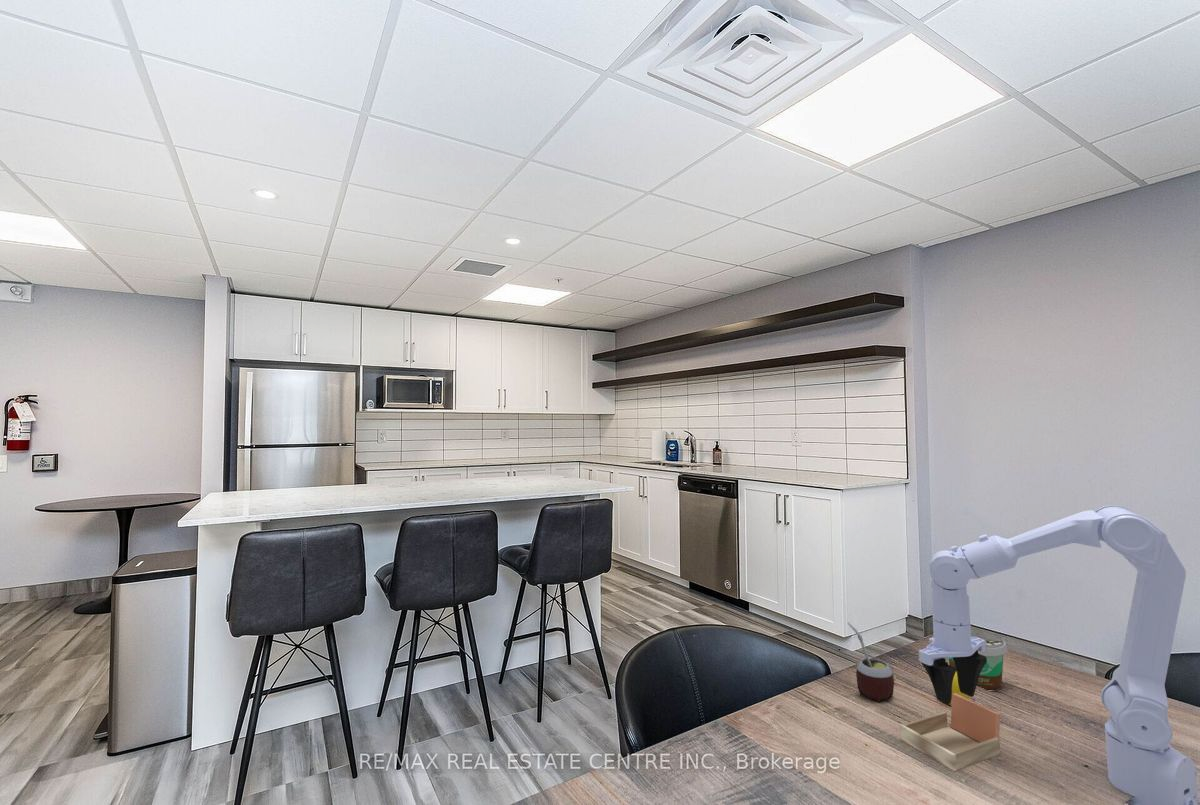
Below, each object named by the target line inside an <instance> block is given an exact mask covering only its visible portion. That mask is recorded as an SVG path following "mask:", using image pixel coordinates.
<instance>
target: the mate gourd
mask: <svg viewBox="0 0 1200 805" xmlns="http://www.w3.org/2000/svg"><path fill="white" fill-rule="evenodd" d="M847 625H848V626H849V627H850V629H852V630H853V631H854V633H855V634H856V635H857V639H858V640H859V642H860V644H861V648H862V651H863V653H864V657H865V658H864V659H861V660H860V662H859V663H858V665H857V666H856V673H855V677H856V686H857V690H858V692H859V695H860V696H862V695H864V696H865V697H867V698H869V699H871V700H874V701H876V702H877V703H881V701H885V700H887V699H888V698H892V697H893V695H894V689H895V678H894V675H893V674H894V673H893V671H892V669H891V668H890V667H891V666H889V665H888V663H886V662H885V661H883V660H879V659H877V658H876V659H875V658H870V657H869V655H868V652H867V649H866V647H865V644H864V641H863V640H864V638H863V636H862V635H861V634H860V632H859V631H858V629H856V627H854V626H853V625H852V624H851V623H850V622H847Z"/></svg>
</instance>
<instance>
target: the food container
mask: <svg viewBox="0 0 1200 805" xmlns="http://www.w3.org/2000/svg"><path fill="white" fill-rule="evenodd" d="M984 640H985V639H984ZM985 646H986V651H983V652H981V651H979V650H978V654H981V655H983V656H985V657H986V658H987V663H986V664H985V666H984V667H983V669H982V671H981V673H980V675H979V678H978V681H977V685H976V687H978V688H981V689H982V690H986V691H988V690H996V691H998V690H997V689H999V688H1001V689H1002V687H1001V686H1002V684H1003V669H1004V655H1005V654H1007V653H1008V648H1007V644H1006V642H1005V639H1004V638H1003V637H1001V640H996V641H995V640H985ZM948 663H949V664H948V665H950V666H952V667H955V668H956V666H955V663H954V660H953V657H952V658H948ZM956 672H957V671H956ZM999 690H1000V689H999Z"/></svg>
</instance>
